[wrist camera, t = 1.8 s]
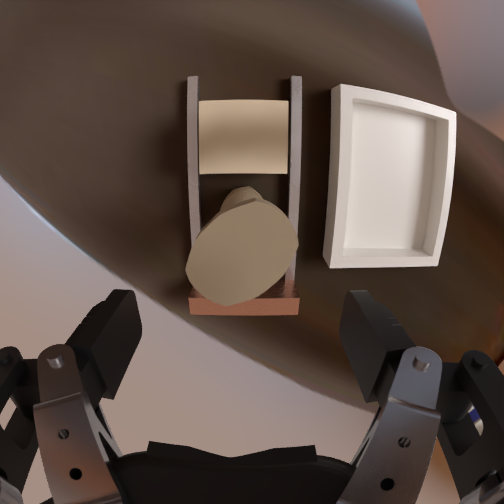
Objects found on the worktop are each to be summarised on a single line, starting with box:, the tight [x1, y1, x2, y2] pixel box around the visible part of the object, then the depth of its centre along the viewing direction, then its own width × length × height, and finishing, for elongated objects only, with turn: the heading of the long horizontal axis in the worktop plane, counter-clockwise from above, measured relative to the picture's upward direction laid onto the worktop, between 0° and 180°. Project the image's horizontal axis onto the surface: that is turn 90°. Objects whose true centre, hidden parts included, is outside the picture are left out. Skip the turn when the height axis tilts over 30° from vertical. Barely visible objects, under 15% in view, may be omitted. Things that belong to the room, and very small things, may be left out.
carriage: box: [199, 100, 288, 174], centre depth 24 cm, size 6×7×6 cm
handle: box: [185, 186, 299, 306], centre depth 22 cm, size 5×6×15 cm
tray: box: [323, 84, 456, 268], centre depth 27 cm, size 18×14×3 cm
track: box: [187, 76, 302, 315], centre depth 26 cm, size 24×11×5 cm, turn 0°
